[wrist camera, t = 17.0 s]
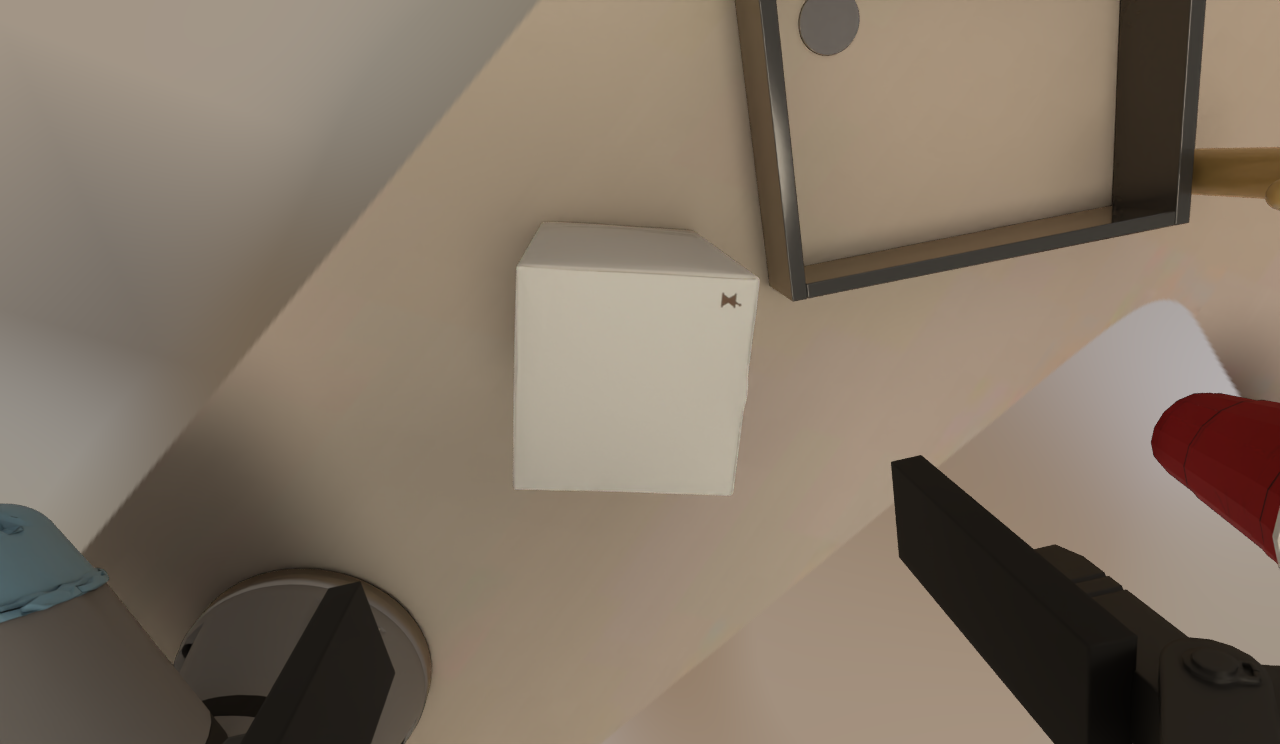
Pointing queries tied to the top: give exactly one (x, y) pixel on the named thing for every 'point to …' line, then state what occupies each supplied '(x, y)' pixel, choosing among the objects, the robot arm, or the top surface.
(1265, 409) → the plastic cup
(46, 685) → the robot arm
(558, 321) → the rectangular carton
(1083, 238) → the sink
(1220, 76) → the top surface
